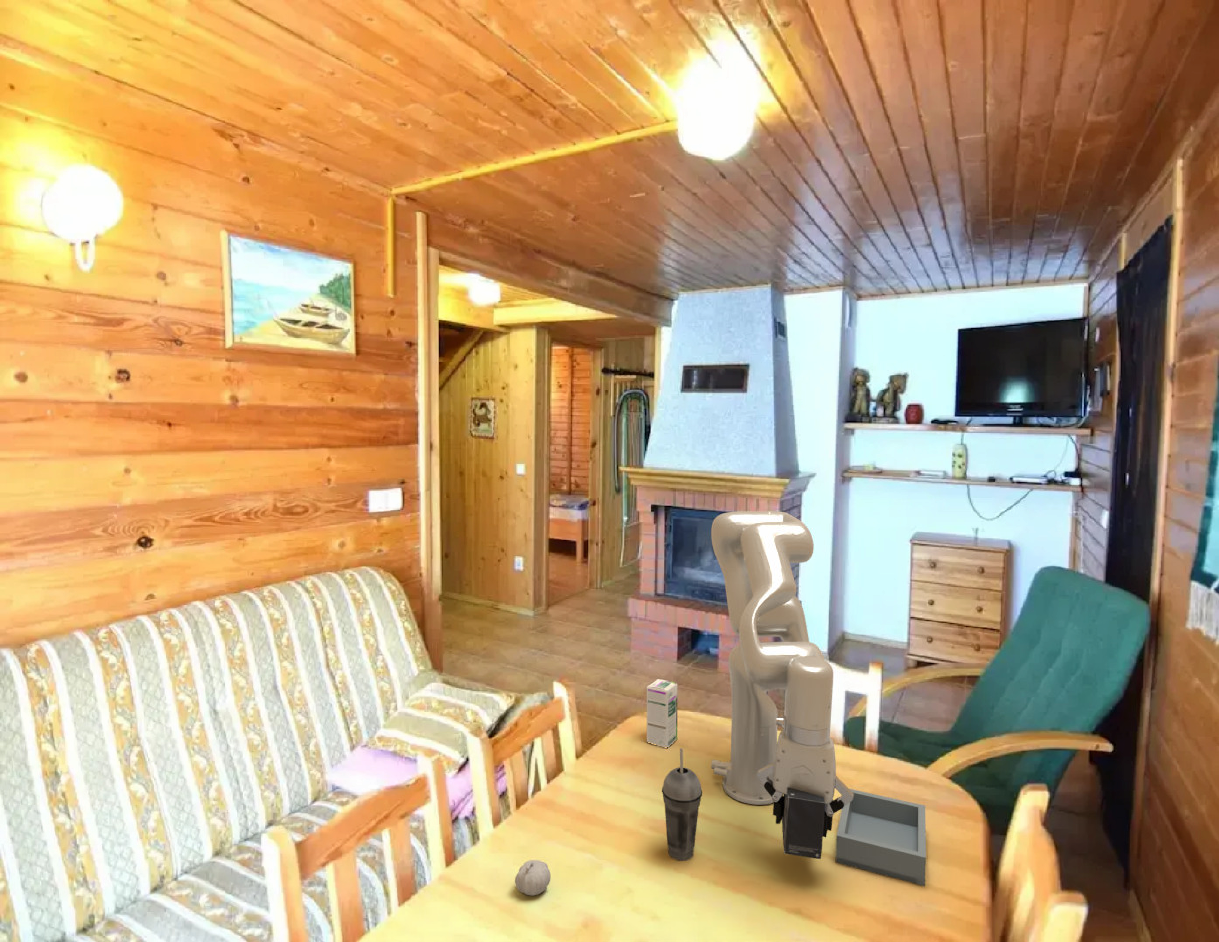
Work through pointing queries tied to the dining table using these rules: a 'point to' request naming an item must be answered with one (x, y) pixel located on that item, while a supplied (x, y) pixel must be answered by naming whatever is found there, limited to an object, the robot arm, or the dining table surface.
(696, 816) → the beverage cup
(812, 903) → the dining table surface
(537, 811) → the dining table surface
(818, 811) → the small box
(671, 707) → the syrup box
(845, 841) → the crate
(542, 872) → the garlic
